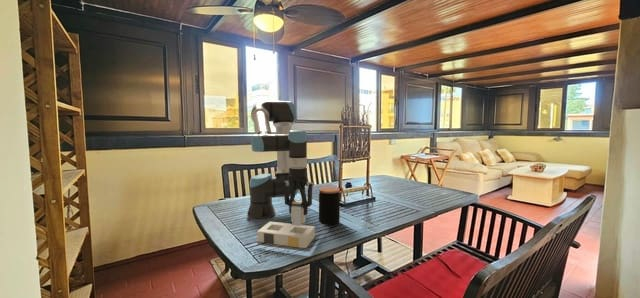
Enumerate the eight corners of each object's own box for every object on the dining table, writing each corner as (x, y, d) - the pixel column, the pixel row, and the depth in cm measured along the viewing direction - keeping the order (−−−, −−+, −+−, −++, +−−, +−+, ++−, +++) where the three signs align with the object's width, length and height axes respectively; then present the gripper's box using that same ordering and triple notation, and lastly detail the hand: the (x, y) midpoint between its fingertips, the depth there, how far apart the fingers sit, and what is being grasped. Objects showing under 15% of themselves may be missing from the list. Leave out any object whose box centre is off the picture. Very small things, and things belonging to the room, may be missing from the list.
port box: (257, 245, 117) (256, 231, 117) (270, 233, 129) (270, 221, 128) (305, 252, 111) (305, 237, 110) (315, 239, 123) (315, 226, 122)
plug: (292, 225, 116) (291, 201, 115) (295, 221, 120) (295, 199, 119) (301, 226, 115) (301, 202, 114) (304, 222, 119) (304, 200, 118)
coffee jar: (327, 217, 150) (327, 185, 148) (343, 222, 143) (343, 188, 141) (314, 223, 142) (314, 189, 140) (331, 228, 135) (331, 192, 133)
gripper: (275, 167, 114) (276, 222, 116) (314, 169, 109) (314, 226, 111) (282, 165, 121) (283, 216, 123) (320, 166, 116) (320, 220, 119)
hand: (298, 221), depth 117 cm, fingers closed on plug, 4 cm apart
